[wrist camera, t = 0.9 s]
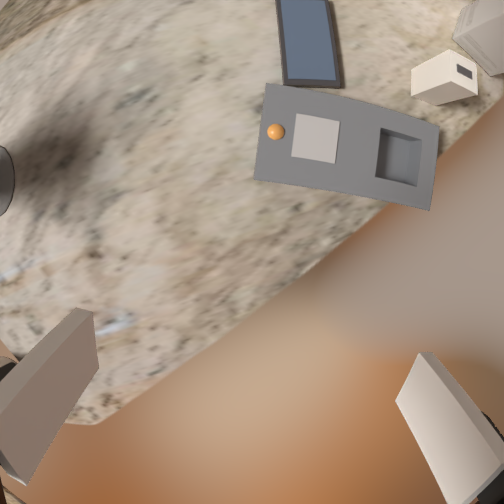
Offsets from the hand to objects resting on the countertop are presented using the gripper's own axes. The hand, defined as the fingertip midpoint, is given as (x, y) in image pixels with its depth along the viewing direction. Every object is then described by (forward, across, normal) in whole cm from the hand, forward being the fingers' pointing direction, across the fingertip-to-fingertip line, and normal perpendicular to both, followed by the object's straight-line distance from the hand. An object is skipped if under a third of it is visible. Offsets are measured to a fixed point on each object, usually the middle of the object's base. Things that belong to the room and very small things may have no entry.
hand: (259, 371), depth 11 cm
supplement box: (+25, +29, +36) cm, 53 cm away
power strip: (+25, +9, +11) cm, 28 cm away
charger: (+25, +18, +23) cm, 38 cm away
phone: (+25, +2, +24) cm, 35 cm away
